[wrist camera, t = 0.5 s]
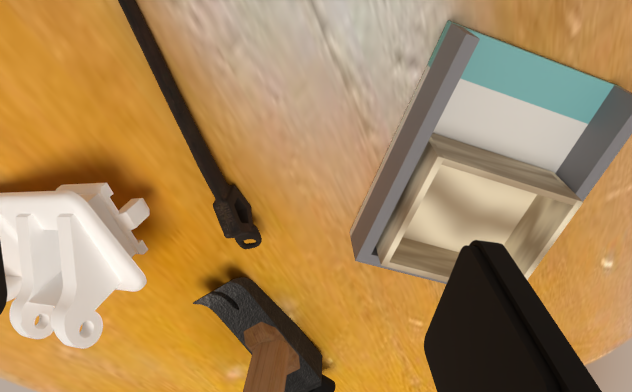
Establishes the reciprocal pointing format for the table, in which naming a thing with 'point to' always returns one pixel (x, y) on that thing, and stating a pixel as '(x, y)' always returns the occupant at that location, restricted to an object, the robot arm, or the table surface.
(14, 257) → the white plastic bracket
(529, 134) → the bay
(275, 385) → the hammer
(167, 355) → the table surface
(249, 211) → the wrench
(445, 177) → the crate
